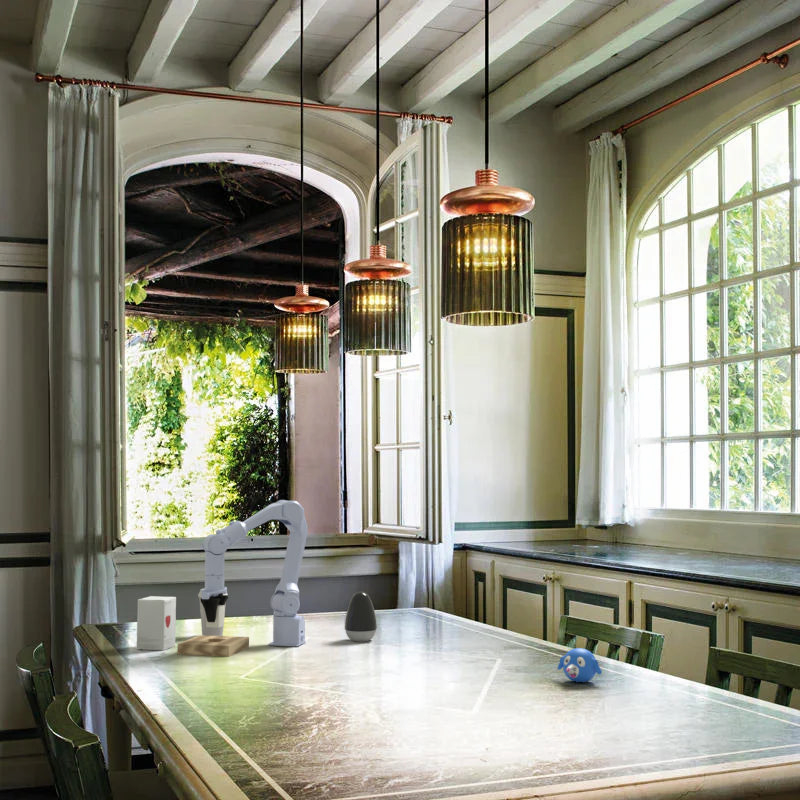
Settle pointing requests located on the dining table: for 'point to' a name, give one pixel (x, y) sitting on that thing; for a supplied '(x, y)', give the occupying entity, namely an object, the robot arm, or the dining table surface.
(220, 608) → the plug
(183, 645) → the socket plate
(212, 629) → the coffee cup
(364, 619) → the two-tone egg ornament
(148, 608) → the supplement box
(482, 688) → the dining table surface
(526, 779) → the dining table surface
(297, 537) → the robot arm
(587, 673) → the blue mole toy
